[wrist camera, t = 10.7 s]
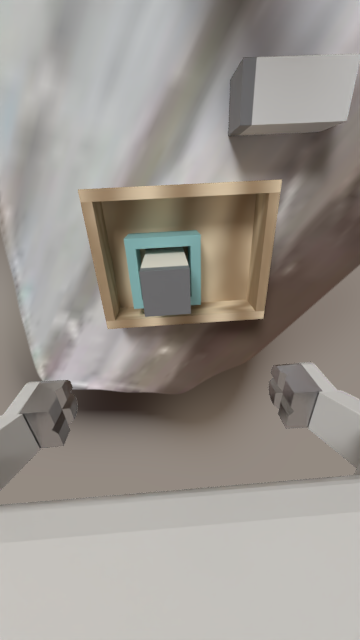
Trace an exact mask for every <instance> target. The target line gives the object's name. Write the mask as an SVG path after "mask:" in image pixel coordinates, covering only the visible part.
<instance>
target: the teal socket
mask: <svg viewBox="0 0 360 640" xmlns="http://www.w3.org/2000/svg"><path fill="white" fill-rule="evenodd" d="M124 245H125V251H126V258H127V265H128V271H129V278H130V285H131V292H132V298H133V305H134V309H141V308H144V305H143V297H142V290H141V282H140V274H139V271H140V268H141V265H142V264H141V256H140V249H147V248H164V247H182V246H188V265H189V268H190V298H191V305H201V235H200V233H199V232H198V231H197V230H186V231H168V232H149V233H131V234H128V235H127V236H126V237H125V238H124Z"/></svg>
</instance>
